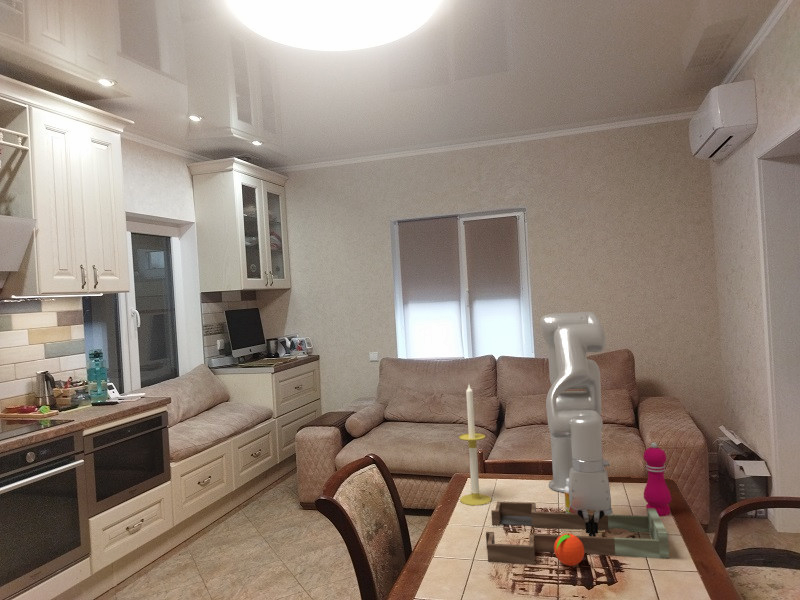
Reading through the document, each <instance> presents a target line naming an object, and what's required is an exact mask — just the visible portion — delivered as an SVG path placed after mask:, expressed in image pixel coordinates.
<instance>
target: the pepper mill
mask: <svg viewBox="0 0 800 600" xmlns="http://www.w3.org/2000/svg"><path fill="white" fill-rule="evenodd" d="M643 459H644V462H646V464H645V466H646V467H645V470H646V471H647V476H648V477H647V481H646V485H645V487H644V490H643V498H644V499H643V500H644V501H645V502H646V505H645V509H646V512H647V508H655V510H656V511H657V513H658V515H659V517H666V516H669V515H670V514H671V507H670V503H671V502H672V495H671V491H670V489H669V487H668V486H667V482H666V480H665V475H664V474H665V471H666V465H665V463H666V461H667V454H666V453H665V451H664V450H663V449H661V448H659V447H658V443H657V442H655V441H653V442H651V443H650V447H648V448H647V449H645V450H644V452H643Z"/></svg>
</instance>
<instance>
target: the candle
mask: <svg viewBox="0 0 800 600" xmlns="http://www.w3.org/2000/svg"><path fill="white" fill-rule="evenodd" d="M465 395H466V411H467V412H466V413H467V414H466V415H467V428H468V430H467V431H468V433H463V434H461V435H459V437H458V439H459V440H461V441H467V443H468V454H469V474H470V475H469V476H470V491H471V494H465V495H464V496H462V497H460V498H459V501H460V503H462V504H463V505H465V506H471V507H474V506H475V505H480V506H484V505H483V504H485V505H488V504H490V503H491V502H492V498H491V497H490V496H489V495H487V494H482V493H480V484H479V482H480V480H479V468H478V467H479V466H478V464H479V463H478V448H477V446H478V445H477V441H481V440H484V439H485V438H486V435H485V434H483V433H477V432H476V424H475V423H476V422H475V407H474V391H473V389H472V388H471V385H470V384H468V386H467V388H466V391H465ZM489 502H490V503H489ZM487 503H488V504H487Z"/></svg>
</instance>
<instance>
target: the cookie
mask: <svg viewBox="0 0 800 600" xmlns="http://www.w3.org/2000/svg"><path fill="white" fill-rule="evenodd" d="M601 537H616V538H638V539H641V538H640V537H636V535H635V534H634V532H630V531H628V530H625V529H619V528H614V529H608V530H605V531H602V533H601Z"/></svg>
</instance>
